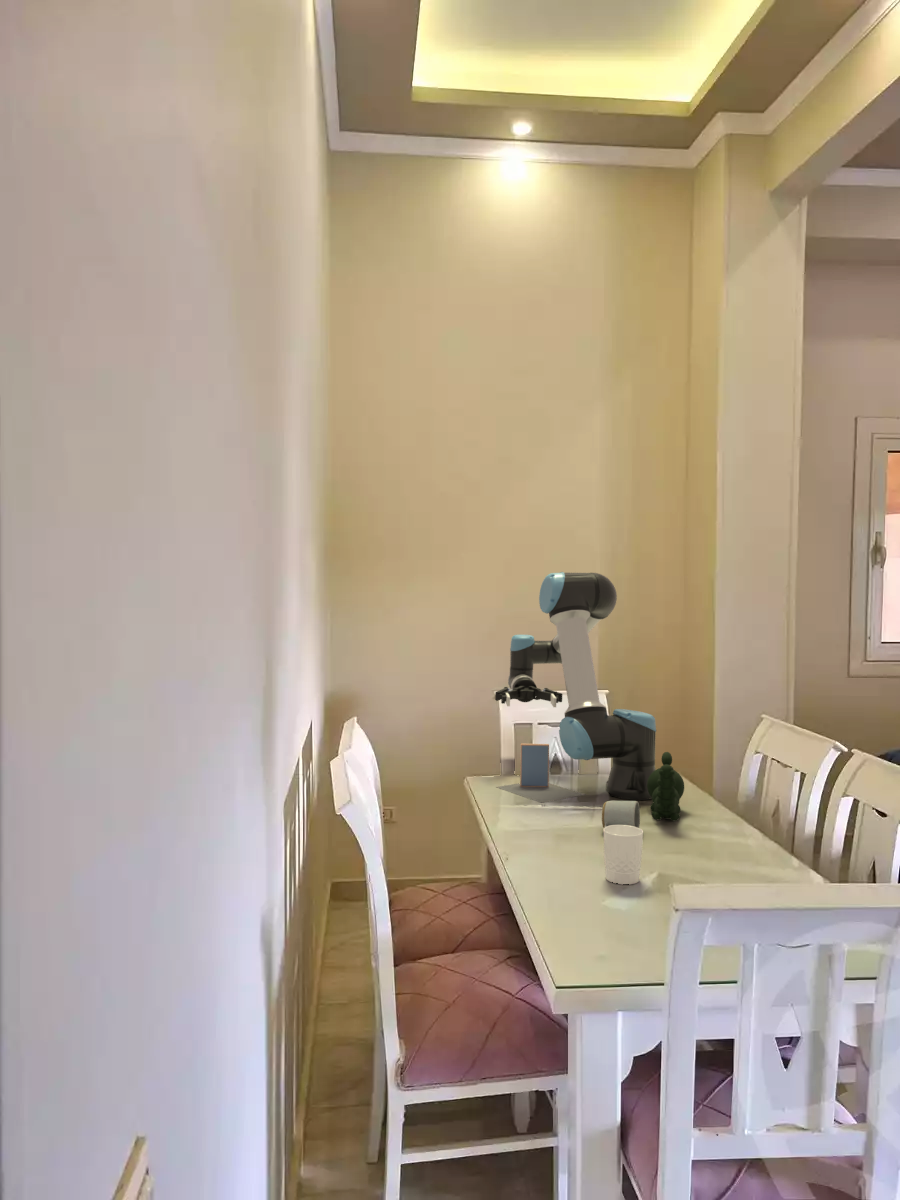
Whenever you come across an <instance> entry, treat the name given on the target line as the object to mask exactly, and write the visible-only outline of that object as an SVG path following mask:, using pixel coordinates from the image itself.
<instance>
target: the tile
mask: <svg viewBox="0 0 900 1200" xmlns="http://www.w3.org/2000/svg"><path fill="white" fill-rule="evenodd" d="M519 758H520V764H519V768H520V770H519V776H520V777H519V783H520V787H549V783H550V780H549V779H550V778H549V777H550V744H549V743H520V757H519Z"/></svg>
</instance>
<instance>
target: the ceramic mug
mask: <svg viewBox="0 0 900 1200" xmlns="http://www.w3.org/2000/svg"><path fill="white" fill-rule="evenodd" d="M640 823H641V811H640V804H639V802H638V800H608V801H605V802H604V803H603V806H602V809H601V824H602V825H601V826H602V828H603V829H604V828H605V827H607V826H610V825H629V826H634V827H637V828H640Z"/></svg>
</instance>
